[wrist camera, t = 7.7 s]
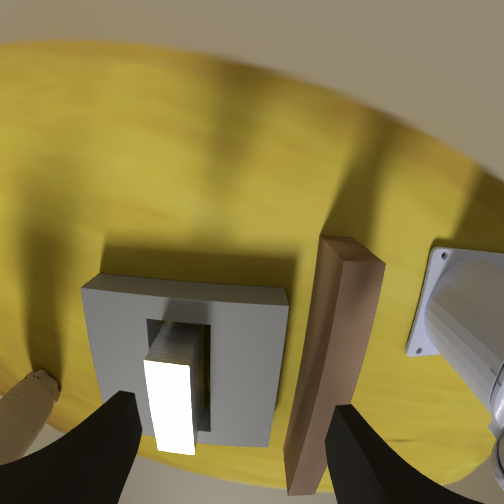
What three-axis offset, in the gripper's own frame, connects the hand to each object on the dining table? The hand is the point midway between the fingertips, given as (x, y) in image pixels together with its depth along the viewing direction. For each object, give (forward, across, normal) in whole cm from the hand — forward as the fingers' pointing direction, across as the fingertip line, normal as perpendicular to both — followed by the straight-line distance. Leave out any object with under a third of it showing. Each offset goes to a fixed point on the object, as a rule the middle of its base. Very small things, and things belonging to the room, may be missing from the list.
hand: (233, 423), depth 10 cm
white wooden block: (+9, +4, +4) cm, 11 cm away
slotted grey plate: (+9, +3, +4) cm, 11 cm away
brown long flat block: (+9, -5, +4) cm, 11 cm away
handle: (+9, +16, +9) cm, 21 cm away
